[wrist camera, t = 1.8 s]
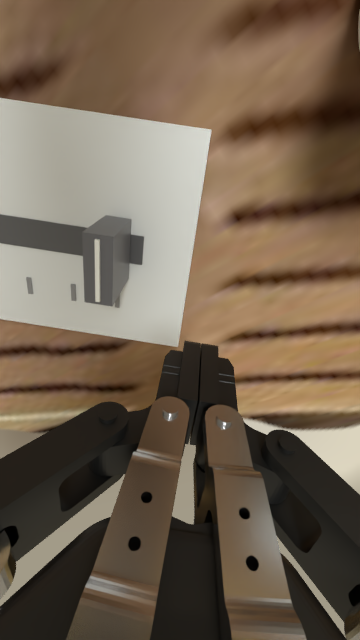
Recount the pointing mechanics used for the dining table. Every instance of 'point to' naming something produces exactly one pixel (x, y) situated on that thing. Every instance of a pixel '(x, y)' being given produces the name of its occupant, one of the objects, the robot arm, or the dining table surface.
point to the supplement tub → (359, 30)
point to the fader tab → (106, 259)
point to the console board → (96, 216)
